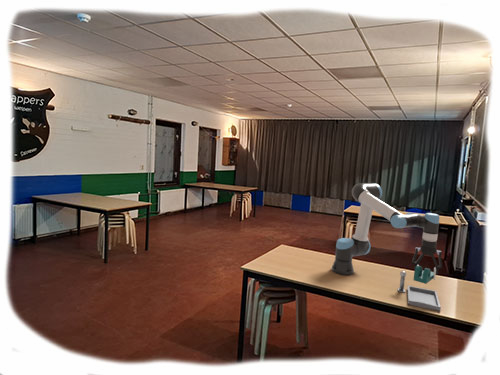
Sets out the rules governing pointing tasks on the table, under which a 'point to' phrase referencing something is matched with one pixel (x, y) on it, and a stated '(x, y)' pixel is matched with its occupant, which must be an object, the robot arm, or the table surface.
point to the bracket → (423, 275)
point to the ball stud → (402, 282)
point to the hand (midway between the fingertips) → (425, 277)
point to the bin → (423, 298)
